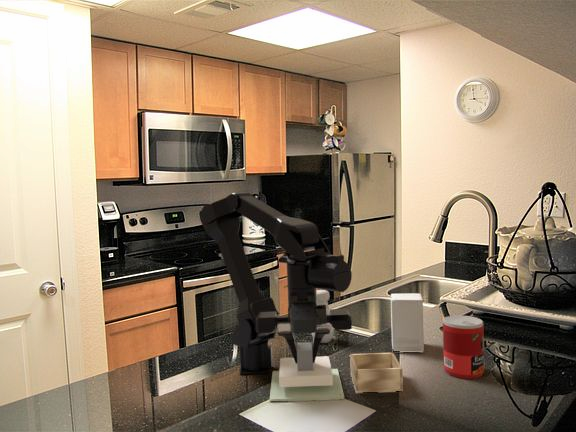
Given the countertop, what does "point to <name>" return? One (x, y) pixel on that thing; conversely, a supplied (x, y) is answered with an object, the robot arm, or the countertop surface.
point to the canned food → (463, 346)
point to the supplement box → (407, 322)
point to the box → (376, 372)
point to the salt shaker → (322, 300)
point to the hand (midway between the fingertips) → (304, 362)
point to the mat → (306, 390)
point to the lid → (305, 369)
